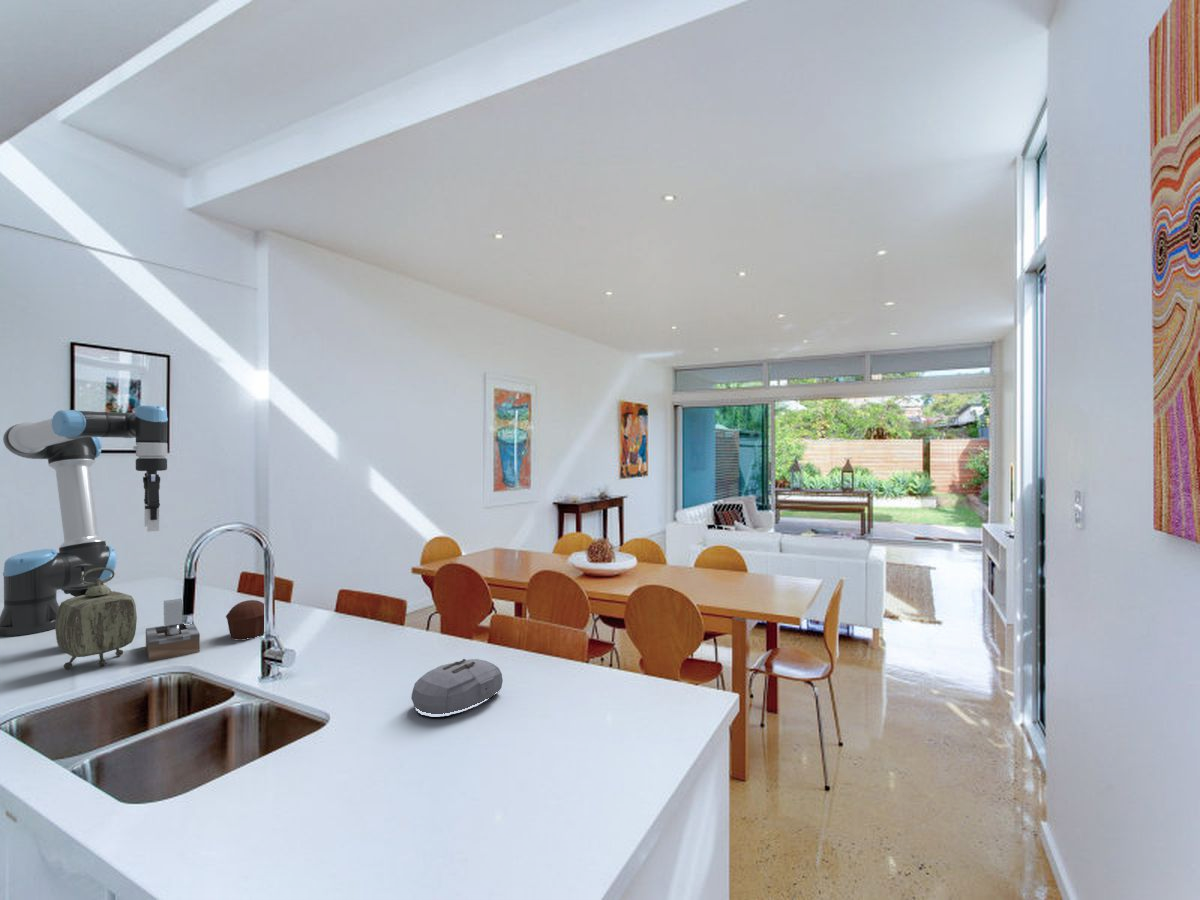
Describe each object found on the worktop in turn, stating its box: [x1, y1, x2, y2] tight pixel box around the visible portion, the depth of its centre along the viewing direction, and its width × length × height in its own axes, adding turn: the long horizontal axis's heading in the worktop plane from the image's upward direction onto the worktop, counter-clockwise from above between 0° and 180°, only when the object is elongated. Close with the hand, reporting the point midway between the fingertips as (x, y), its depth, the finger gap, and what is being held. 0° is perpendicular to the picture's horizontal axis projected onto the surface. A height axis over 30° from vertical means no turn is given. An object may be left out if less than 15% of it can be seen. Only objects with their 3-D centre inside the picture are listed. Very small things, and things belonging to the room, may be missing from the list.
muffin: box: [225, 599, 265, 640], centre depth 176 cm, size 12×11×10 cm
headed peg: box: [163, 598, 184, 636], centre depth 161 cm, size 5×5×14 cm
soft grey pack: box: [410, 658, 504, 714], centre depth 131 cm, size 15×8×20 cm
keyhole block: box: [145, 620, 201, 662], centre depth 163 cm, size 15×11×5 cm
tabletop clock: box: [54, 567, 138, 670], centre depth 152 cm, size 14×9×25 cm, turn 149°
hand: (151, 528), depth 176 cm, fingers open, 13 cm apart
